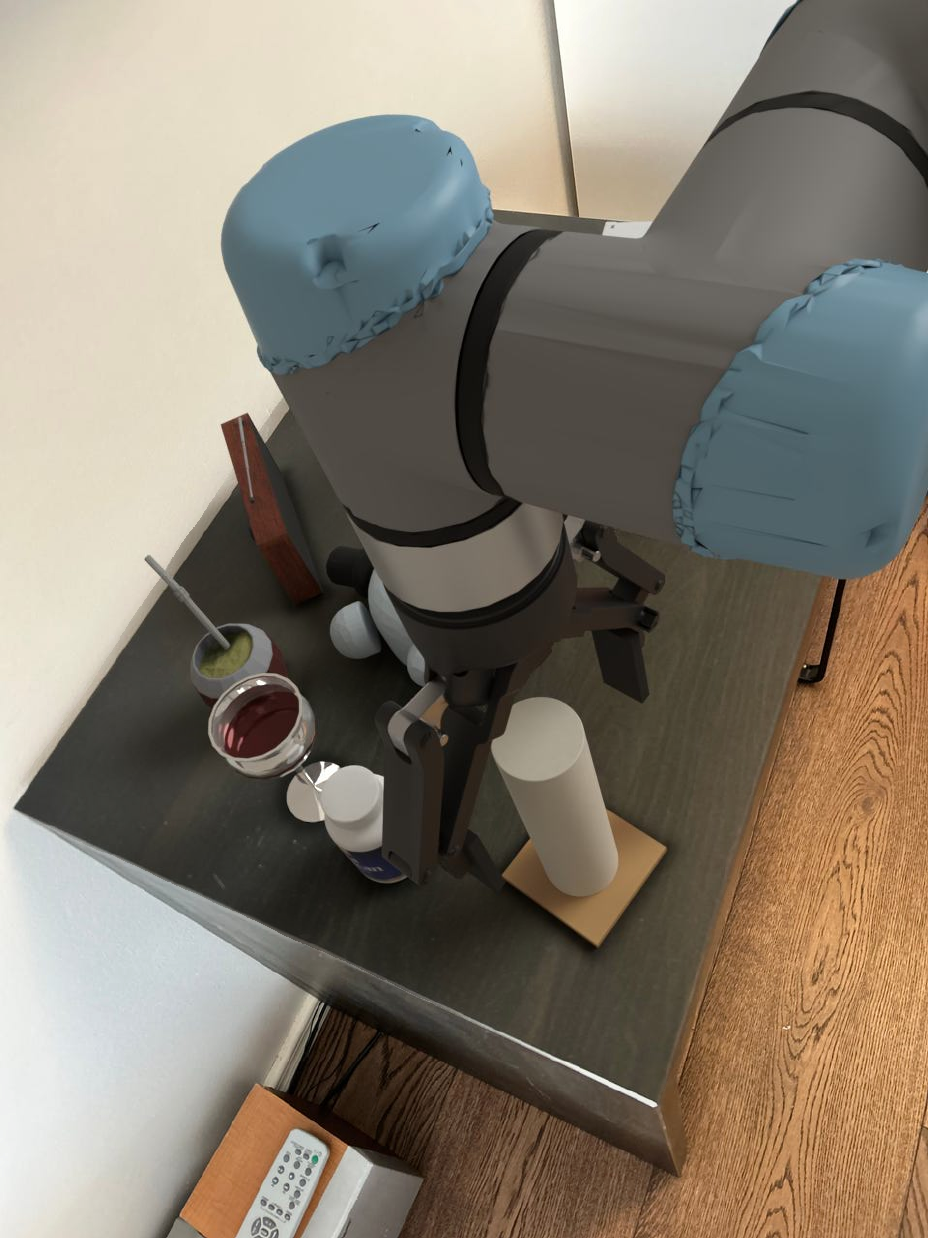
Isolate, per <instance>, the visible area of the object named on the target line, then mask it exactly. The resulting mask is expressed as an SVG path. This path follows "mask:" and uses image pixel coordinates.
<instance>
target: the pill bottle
mask: <svg viewBox="0 0 928 1238" xmlns="http://www.w3.org/2000/svg"><path fill="white" fill-rule="evenodd" d="M340 768H341V769H339V770H337V771H336V772H334V773H333V774H332V775H331V776H330V777H329V778H328V779H327V780H326V782H325V783H324V785H323V787H322V790H321V795H320V803H321V807H322V810H323V812H324V820H323V821H324V825H325V829H326V831H327V833H328V835H329V837H330V838H331V839H332V841H333V842H334V844H336V846H337V847H338V848H339V850H341V851H342V853H344V855H345V856H346V857H347V858H348V860H350V862H352V863H353V865H354V866H355V867H356V868H357V869H358V870H359V871H360V873H362V874H363V876H365V877H366V878H368V879H370V880H371V881H374V882H377V883H380V884H393V883H397V882H401V881H403V880H404V879H408V877H407V876H405V875H404V874H403V873H402V872H400V871H399V870H398V869H397V868H395V867H394V866H393V865H391V864H390V863H389V862H388V861H387V860H385V859H384V858H383V857H382V824H383V785H384V775H380V774H376V773H373V771H372V770H370V769H369V768H367V767H364V766H362V765H356V764H355V765H346V766H344V767H340Z"/></svg>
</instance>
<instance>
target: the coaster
mask: <svg viewBox="0 0 928 1238" xmlns="http://www.w3.org/2000/svg"><path fill="white" fill-rule="evenodd" d="M605 809H606V812H607V816H608V820H609V823H610V827H611V831H612V834H613V838H614V842H615V845H616V849H617V853H618V868H617V871H616V874H615V876H614V878H613V880H612V881H611V882H610V884H609V885H608V886H607V887H606V888H604V889H603V890H602V891H600V892H598V893H596V894H593V895H590V896H584V897H577V896H571V895H568V894H566V893H563V892H562V891H560V890H559V889H557V888H556V887H555V886H554V885H553V884H552V883H551V881H550V880H549V878H548V876H547V874H546V872H545V869H544V867H543V865H542V863H541V861H540V858H539V856H538V854H537V852H536V850H535V847H534V845H533V843H532V841H531V839H530V838H529V839H528V841H526V843H525V844H524V846H523V847H522V848H521V850H519V851H518V853H517V855H516V856H515V857H514V858H513V860H512V861H511V863H510V864H509V865H508V867H506V869H505V870H504V872H503V873H502V874H501V875H502V877H503V879H504V881H505V882H507V883H509V884H510V885H511V886H513V887H514V888H515V889H517V890H518V891H520V892H521V893H522V894H524V895H525V896H526V897H528V898H529V899H530V900H531V901H533V902H534V903H536V904H537V905H538V906H540V907H541V908H543V909H544V910H545V911H546V912H548V913H550V914H551V915H552V916H553V917H555V918H556V919H558V920H559V921H560V922H561V923H563V924H564V925H566V926H567V927H568V928H569V929H571V930H573V931H574V932H575V933H577V934H578V935H579V936H580V937H582V938H583V939H585V940H586V941H588V942H589V943H590V944H592V945H593V946H595V947H596V948H600V946H601V944H602V943H603V942H604V940H605V939H606V938H607V936H608V935H609V933H610V932H611V930H612V929H613V928H614V926H615V925H616V923H617V922H618V920H619V919H620V918H621V916H622V915H623V914H624V912H625V911H626V909H627V908H628V906H629V905H630V903H631V902H632V901H633V899H634V898H635V897H636V896H637V894H638V892H639V891H640V889H641V888H642V887H643V886H644V884H645V882H646V881H647V880H648V878H649V877H650V875H651V874H652V873H653V871H654V870H655V868H656V867H657V866H658V864H659V863H660V861H661V860H662V859H663V857H664V855H666V853H667V851H668V849H667V846H665V845H664V844H662V843H660V842H659V841H658V840H656V839H654V838H653V837H651V836H650V835H648V834H646V833H645V832H643V831H642V830H640V829H638V828H637V827H635V826H634V825H632V824H631V823H630V822H628V821H626V820H625V819H623V818H621V817H620V816H618V815H617V814H615V813H614V812H612V811H610V810H608V809H607V808H606V807H605Z"/></svg>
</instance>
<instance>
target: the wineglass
mask: <svg viewBox="0 0 928 1238" xmlns="http://www.w3.org/2000/svg"><path fill="white" fill-rule="evenodd" d="M207 726H208V727H207V728H208V729H207V734H208V737H209V740H210V743H211V746H212V747H213V748H214V749H215V750H216V751H217V753H218V754H219V755H221V756H222V757H223V760H224V761H225V762H226V763H227V764H228V765H229V767H230V768H231V769H232V770H234V771H235V773H237V774H239V775H241V776H244V777H246V778H248V779H252V780H253V779H254V780H264V781H270V780H274V779H279V778H283V777H285V776H286V775H288V774H290V773H292V772H295V773H296V774H294V777H293V778H292V780H291V781H290V782H289V785H288V788H287V792H286V803H287V807H288V809H289V811H290V813H291V814H292V815H293V816H294V817H295V818H296V819H298V820H300V821H303V822H309V823H317V822H322V821H325V820H324V812H323V810H322V807H321V803H320V795H321V790H322V787H323V785H324V783H325V782H326V780H327V779H328V778H329V777H330V776H331V775H332V774H333V773H334V772H336V771H337V770H339V769H341V768H342V767H340V766H339V765H337V764H336V763H333V762H329V761H318V762H314V763H311V764H309V765H307V766H305V767H303V765H302V764H303V763H304V762H306V760H307V758H308V756H309V755H310V753H312V750H313V748H314V744H315V741H316V738H317V718H316V715H315V713H314V710H313V707H312V705H311V704H310V701H309V700H308V699H307V698H306V697H305V696H304V695H303V694H302V693H301V692H300V690H299V688H298V686H296V684H294V682H292V680H291V679H289V677H288V678H286V677H283V676H281V675H278V674H272V673H260V674H256V675H252V676H248V677H246V678H244V679H242V680H240V681H238V682H236V683H235V684H233V685H232V686H231V687H230V688H229V689H228V690H226V691H225V692H224V693H223V694H222V695H221V697H220V698H219V700H218V701H217V702H216V704H215V705H214V707H213V709H211V713H210V716H209V718H208V725H207Z"/></svg>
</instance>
